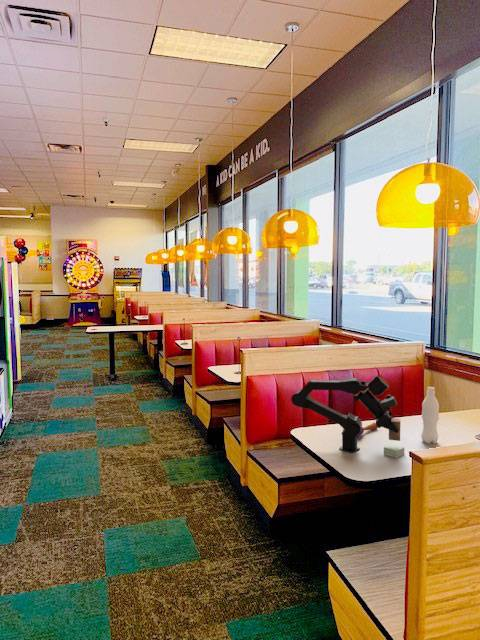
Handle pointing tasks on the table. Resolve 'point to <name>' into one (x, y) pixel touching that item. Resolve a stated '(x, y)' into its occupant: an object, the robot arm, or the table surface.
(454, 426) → the table surface
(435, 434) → the water bottle
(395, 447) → the block
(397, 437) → the walnut pillar
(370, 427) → the kendama
